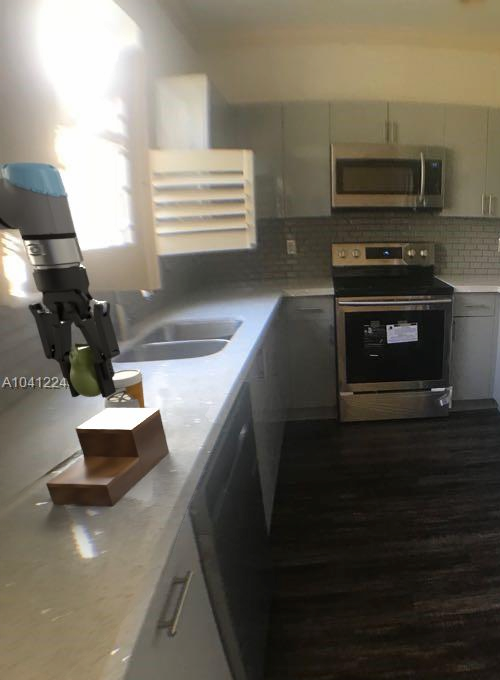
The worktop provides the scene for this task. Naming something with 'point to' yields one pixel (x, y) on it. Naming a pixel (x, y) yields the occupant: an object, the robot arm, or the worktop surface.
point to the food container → (121, 400)
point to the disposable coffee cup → (130, 383)
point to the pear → (83, 371)
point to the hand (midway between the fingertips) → (94, 394)
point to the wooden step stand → (111, 457)
